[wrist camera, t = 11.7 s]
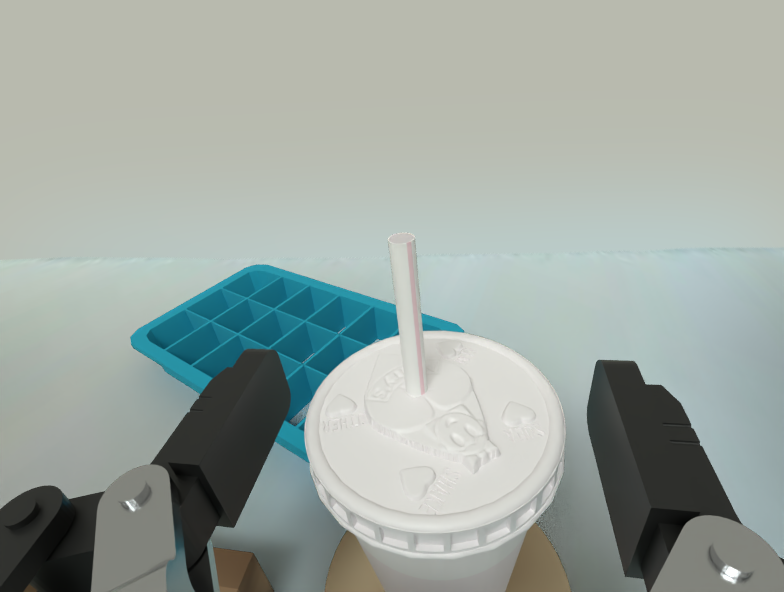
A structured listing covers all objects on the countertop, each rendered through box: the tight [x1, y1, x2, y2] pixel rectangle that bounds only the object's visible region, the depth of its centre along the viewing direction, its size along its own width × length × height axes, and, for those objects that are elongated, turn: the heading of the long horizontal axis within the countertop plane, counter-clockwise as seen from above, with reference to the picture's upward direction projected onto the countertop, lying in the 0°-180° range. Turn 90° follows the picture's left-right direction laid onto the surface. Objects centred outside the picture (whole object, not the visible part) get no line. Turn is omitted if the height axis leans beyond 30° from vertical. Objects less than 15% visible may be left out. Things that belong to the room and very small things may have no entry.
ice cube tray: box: [130, 265, 464, 463], centre depth 28 cm, size 12×20×3 cm, turn 54°
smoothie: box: [304, 233, 566, 592], centre depth 12 cm, size 6×6×14 cm
